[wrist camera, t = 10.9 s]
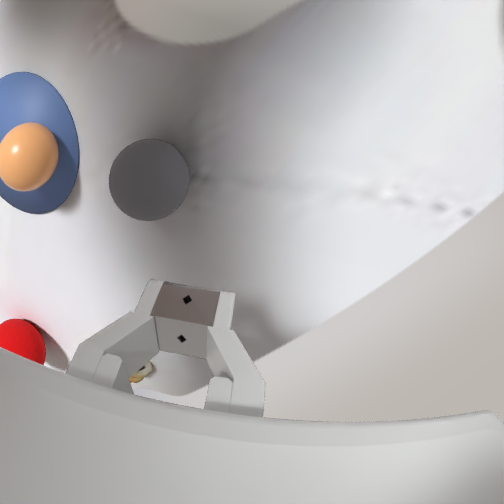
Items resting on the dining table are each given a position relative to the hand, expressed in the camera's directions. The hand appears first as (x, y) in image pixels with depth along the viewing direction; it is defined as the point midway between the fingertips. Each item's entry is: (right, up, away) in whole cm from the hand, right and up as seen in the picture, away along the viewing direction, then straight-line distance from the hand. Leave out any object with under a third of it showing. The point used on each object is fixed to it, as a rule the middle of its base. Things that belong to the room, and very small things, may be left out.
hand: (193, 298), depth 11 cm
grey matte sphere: (-5, +6, +9) cm, 12 cm away
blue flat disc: (-19, +11, +11) cm, 24 cm away
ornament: (-31, -10, +27) cm, 43 cm away
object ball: (-15, +9, +8) cm, 20 cm away
